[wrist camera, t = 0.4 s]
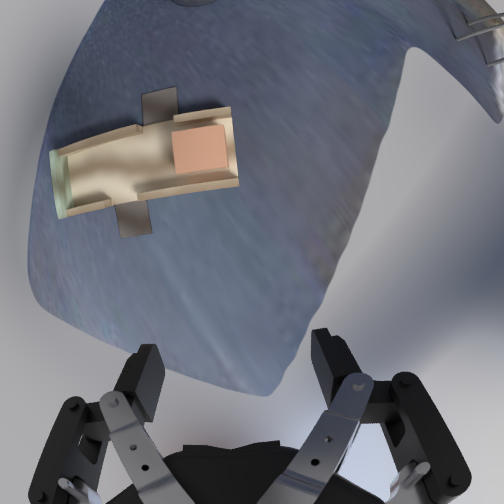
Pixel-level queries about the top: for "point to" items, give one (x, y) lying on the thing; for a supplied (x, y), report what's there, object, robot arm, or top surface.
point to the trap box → (137, 164)
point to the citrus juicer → (483, 32)
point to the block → (200, 149)
